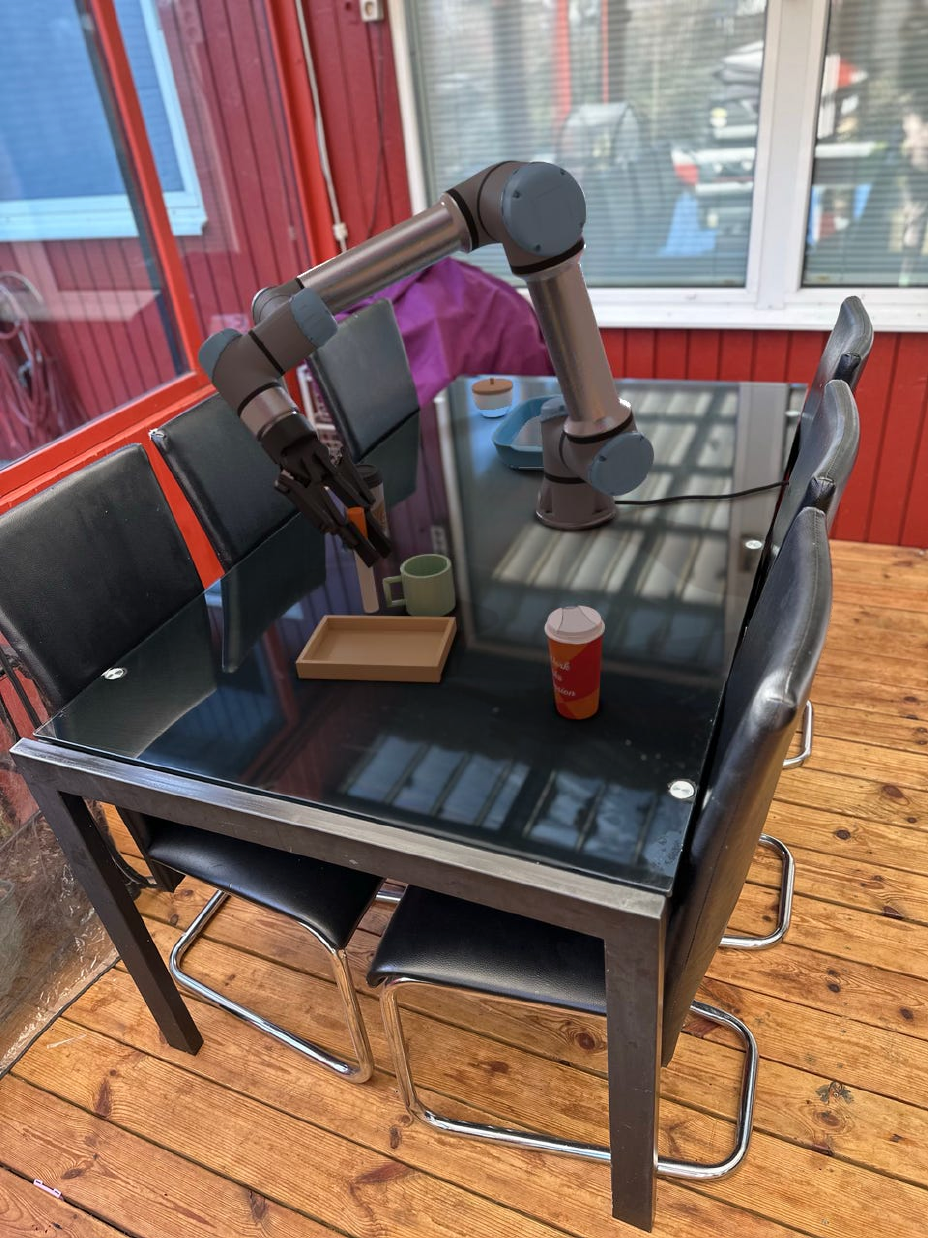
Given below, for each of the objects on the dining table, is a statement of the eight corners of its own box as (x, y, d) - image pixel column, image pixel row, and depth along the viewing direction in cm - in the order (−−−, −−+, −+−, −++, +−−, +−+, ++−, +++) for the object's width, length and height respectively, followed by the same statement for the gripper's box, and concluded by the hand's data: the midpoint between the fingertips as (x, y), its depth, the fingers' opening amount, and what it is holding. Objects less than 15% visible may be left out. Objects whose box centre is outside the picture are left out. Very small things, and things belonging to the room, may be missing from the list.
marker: (381, 605, 132) (365, 506, 124) (377, 613, 130) (360, 514, 122) (366, 605, 133) (349, 506, 125) (361, 613, 131) (344, 514, 123)
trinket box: (470, 421, 226) (467, 385, 221) (477, 408, 235) (474, 372, 230) (512, 420, 224) (509, 383, 219) (517, 406, 233) (515, 371, 228)
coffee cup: (385, 554, 165) (374, 479, 157) (343, 554, 167) (330, 479, 159) (397, 534, 172) (387, 462, 164) (357, 534, 174) (344, 462, 166)
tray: (457, 632, 139) (455, 617, 138) (439, 682, 128) (437, 666, 126) (327, 629, 144) (324, 615, 142) (298, 678, 132) (295, 662, 131)
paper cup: (544, 693, 123) (539, 607, 116) (599, 686, 123) (597, 600, 116) (554, 728, 116) (549, 638, 109) (611, 721, 117) (611, 631, 109)
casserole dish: (583, 481, 186) (582, 449, 182) (482, 477, 193) (480, 446, 189) (615, 422, 215) (615, 393, 212) (527, 420, 222) (525, 392, 219)
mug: (451, 592, 150) (446, 550, 146) (459, 616, 143) (454, 573, 139) (385, 603, 149) (379, 561, 145) (390, 628, 142) (383, 584, 138)
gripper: (311, 426, 133) (406, 549, 132) (229, 461, 123) (332, 593, 122) (329, 396, 128) (429, 523, 127) (246, 429, 118) (353, 568, 117)
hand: (381, 558), depth 124 cm, fingers closed on marker, 2 cm apart
